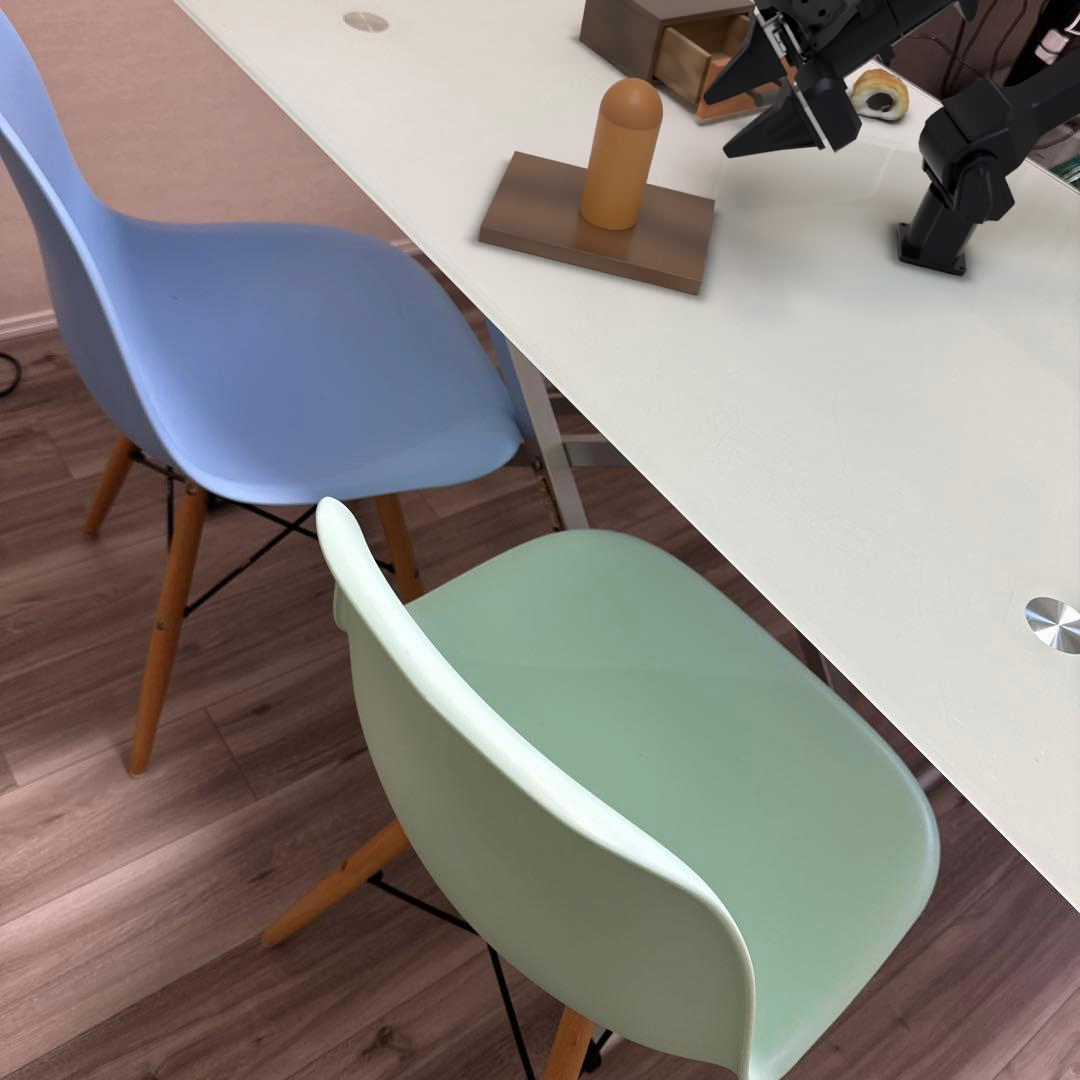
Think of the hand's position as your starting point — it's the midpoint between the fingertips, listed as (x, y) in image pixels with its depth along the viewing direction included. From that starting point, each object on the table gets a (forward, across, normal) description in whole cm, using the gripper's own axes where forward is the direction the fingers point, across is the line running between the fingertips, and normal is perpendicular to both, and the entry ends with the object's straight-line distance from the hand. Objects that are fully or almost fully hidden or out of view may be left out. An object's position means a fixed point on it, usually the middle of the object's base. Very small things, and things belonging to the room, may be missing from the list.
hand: (714, 126), depth 85 cm
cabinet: (+5, -38, +10) cm, 39 cm away
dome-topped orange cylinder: (+12, 0, +1) cm, 12 cm away
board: (+13, 0, +2) cm, 13 cm away
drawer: (0, -27, +13) cm, 30 cm away
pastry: (-13, -31, +28) cm, 44 cm away
